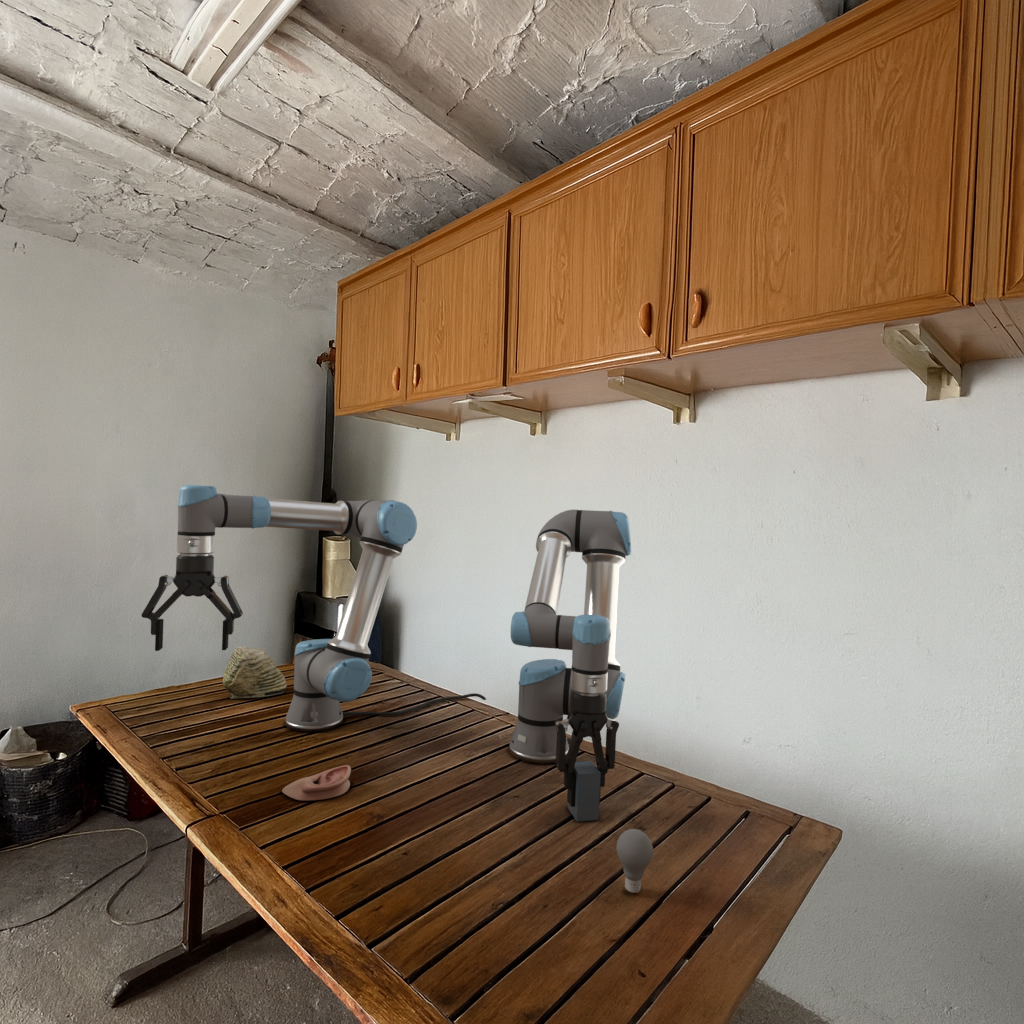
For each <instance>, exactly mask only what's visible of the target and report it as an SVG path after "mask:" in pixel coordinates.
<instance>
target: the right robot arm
mask: <svg viewBox="0 0 1024 1024" xmlns="http://www.w3.org/2000/svg"><path fill="white" fill-rule="evenodd" d="M535 549H536V552H537V555H536V558H535V563H534V567H533V571H532V576H531V580H530V585H529V589H528V593H527V597H526V602H525V605H524V611H523V610H522V611H515V612H514V613H513V614H512V616H511V623H510V640H511V643H512V644H513V645H516V646H522V647H528V648H542V649H555V650H556V649H557V650H564V651H571V667H567V664H566V662H565V661H564V660H562V659H556V658H545V659H544V658H543V659H536V660H531V661H529V662H527V663H525V664H524V665H522V666H521V668H520V671H519V680H518V705H517V707H518V708H517V722H516V724H515V726H514V730H513V733H512V734H511V735H512V736H511V738H510V740H509V745H508V746H509V750H508V751H509V753H510V755H511V756H512V757H514V758H516V759H518V760H520V761H524V762H526V763H530V764H531V763H532V764H541V765H544V764H545V765H547V764H555V767H556V769H557V770H558V771H559V772H560V773H563V787H564V788H565V789H566V790H567V793H566V796H567V798H566V802H567V804H568V803H569V804H570V806H571V807H575V789H576V774H575V773H574V772H573V769H574V766H575V762H577V758H578V755H579V751H580V748H581V744H582V743H583V741H584V738H588V737H590V738H591V741H592V749H593V753H594V759H595V763H596V764H595V765H596V768H597V769H598V770H599V771H600V772H601V776H600V792H601V788H604V787H605V785H606V775H607V774H608V771H609V770H614V769H615V766H616V747H617V746H616V744H617V732H618V730H619V727H620V723H619V722H618V721H617V720H616V718H617V717H619V714H620V711H621V704H622V699H623V693H624V687H625V681H626V673H625V672H623V671H621V663H619V661H618V660H617V659H616V644H617V643H616V640H617V624H618V623H617V619H618V599H619V582H620V581H619V579H620V568H621V566H623V564H625V562H626V557H628V556H631V555H632V543H631V528H630V520H629V517H628V515H627V514H626V513H625V512H621V511H613V510H590V509H589V510H588V509H587V510H586V509H568V510H563V511H562V512H559V513H558V514H556V515H554V516H553V517H552V518H550V519H549V520H547V522H545V524H544V525H542V528H541V529H540V530H539V533H538V534H537V538H536V541H535ZM572 552H573V553H581V559H582V561H583V562H584V563H585V565H586V577H585V592H584V607H583V614H579V615H565V614H564V615H562V614H558V608H559V602H560V598H561V591H562V585H563V579H564V573H565V567H566V562H567V558H568V557H569V556H570V555H571V553H572ZM564 716H566V718H565V719H564ZM569 726H570V728H571V729H572V731H571V737H567V732H568V727H569ZM604 726H605V728H606V731H605V749H604V748H603V743H602V735H601V731H602V730H603V728H604ZM603 749H604V750H603ZM604 751H605V753H604ZM600 805H601V796H600V797H599V806H600Z"/></svg>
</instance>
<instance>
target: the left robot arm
mask: <svg viewBox="0 0 1024 1024" xmlns="http://www.w3.org/2000/svg"><path fill="white" fill-rule="evenodd" d="M216 528H218V529H219V528H220V529H223V528H226V529H227V528H228V529H229V528H231V529H232V528H233V529H234V528H235V529H261V528H279V529H296V530H312V531H313V530H314V531H333V532H334V534H336V535H340V536H342V535H343V536H350V537H355V538H359V545H360V547H361V549H362V551H361V556H360V558H359V561H358V565H357V568H356V571H355V574H354V578H353V581H352V583H351V586H350V590H349V593H348V597H347V599H346V603H345V606H344V608H343V612H342V615H341V618H340V621H339V624H338V628H337V631H336V634H335V636H333V638H319V639H308V640H303V641H300V642H297V644H296V645H295V650H294V655H293V656H294V672H293V695H292V696H293V697H292V699H291V702H290V704H289V708H288V711H287V713H286V715H285V726H286V728H287V729H289V730H291V731H294V732H295V731H296V732H301V733H316V732H325V731H329V730H332V729H335V728H337V727H339V726H340V725H342V723H343V722H344V717H347V716H379V717H381V716H382V717H385V716H386V717H387V716H389V717H390V716H399V715H403V714H407V713H410V712H414V711H417V710H420V709H422V708H425V707H428V706H430V705H431V704H436V703H439V702H444V701H451V700H460V699H461V700H462V699H466V698H471V697H473V698H474V697H476V698H480V699H481V700H483V701H486V700H487V698H486V697H485V696H484V695H483V694H481V693H476V692H475V693H467V694H463V695H454V696H446V697H440V698H436V699H435V698H434V699H431V700H429V701H426V702H424V703H422V704H418V705H416V706H413V707H410V708H407V709H402V710H398V711H387V712H385V711H384V712H383V711H343V709H342V706H341V702H343V703H348V702H349V703H350V702H353V701H355V700H357V699H358V698H359V697H361V696H362V695H364V694H365V693H366V691H367V690H368V688H369V687H370V685H371V682H372V679H373V678H372V677H373V673H372V672H373V671H372V669H371V666H370V664H369V660H370V657H371V654H372V652H371V649H370V648H369V645H368V644H369V641H370V638H371V635H372V630H373V627H374V625H375V621H376V617H377V615H378V612H379V608H380V606H381V602H382V598H383V595H384V592H385V588H386V586H387V582H388V579H389V576H390V572H391V569H392V566H393V562H394V560H395V559H396V558H397V557H400V556H401V555H402V552H403V549H404V546H405V545H407V544H408V543H409V542H411V541H412V540H413V539H414V537H415V536H416V533H417V529H418V520H417V516H416V515H415V513H414V510H413V508H411V507H410V506H409V505H408V504H406V503H404V502H401V501H398V500H397V501H396V500H393V499H389V500H381V499H364V500H338V501H337V502H335V503H333V502H320V501H319V502H318V501H307V500H297V499H296V500H295V499H282V498H273V497H271V498H270V497H265V496H257V495H240V494H239V495H238V494H226V493H218V492H217V487H216V486H214V485H199V484H198V485H197V484H183V485H182V486H181V487H180V488H179V493H178V501H177V535H176V553H178V555H177V556H176V558H175V575H174V576H170V575H168V574H163V575H161V576H160V577H159V578H158V585H157V587H156V588H155V590H154V592H153V594H152V596H151V597H150V599H149V601H148V603H147V604H146V606H145V608H144V609H143V611H142V612H141V617H142V618H143V619H147V620H150V634H151V636H155V637H154V638H155V639H154V652H159V651H161V650H162V649H163V647H164V646H163V645H164V644H163V643H164V618H161V617H162V616H163V614H165V613H166V611H168V610H169V608H171V606H172V605H174V603H175V602H176V601H177V600H178V599H179V598H180V597H181V596H185V597H197V598H198V597H203V596H205V598H207V600H209V601H210V602H211V604H212V605H213V606H214V607H215V608H216V609H217V610H218V611H219V612H220V614H221V615H222V616H223V617H224V618H225V619H223V620H222V635H221V637H222V640H221V651H226V650H227V649H228V648H229V635H232V634H233V633H234V627H235V619H240V618H241V617H242V616H243V615H244V612H243V610H242V608H241V605H240V603H239V602H238V599H237V598H236V596H235V593H234V592H233V589H232V587H231V586H230V577H229V575H223V576H217V577H216V576H215V573H214V569H215V556H214V555H213V554H214V553H215V545H216V544H215V543H216V541H215V540H216ZM172 583H173V584H174V585H175V587H176V588H177V589H175V591H174V592H173V593H172V594H171V595H170V597H168V599H166V600H165V601H164V602H163V604H161V605H160V606H159V607H158V609H156V611H155V612H154V610H155V608H156V606H157V605H158V604H159V601H160V599H161V598H162V596H163V594H164V593H165V591H166V590H167V587H168V586H170V585H171V584H172ZM215 584H217V586H218V587H221V590H222V592H223V594H224V596H225V598H226V601H227V602H228V604H229V606H230V608H231V610H230V608H229V607H228V606H227V605H226V603H225V602H224V601H223V600H222V599H221V598H220V596H219V595H217V592H216V591H215V590H214V588H212V587H213V586H214V585H215Z"/></svg>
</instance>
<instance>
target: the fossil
mask: <svg viewBox="0 0 1024 1024" xmlns="http://www.w3.org/2000/svg"><path fill="white" fill-rule="evenodd" d="M222 676H223V677H222V685H223V687H224V688H225V690H226V691H228V693H229V698H230V699H250V698H264V697H271V696H275V695H281V694H284V693H285V691H286V689H287V687H288V686H287V680H286V678H285V676H284V674H283V673H282V672H281V669H279V668H278V667H277V665H276V663H275V662H274V660H273V659H272V658H271V657H270V656H269V655H268V654H267V653H266V652H265V650H264V649H263V648H260V647H258V648H251V647H247V646H246V647H245V646H238V647H237V648H236V649H235V650H233V651H232V653H231V656H230V657H229V659H228V660H227V663H226V666H225V668H224V671H223V675H222Z"/></svg>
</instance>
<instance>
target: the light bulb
mask: <svg viewBox="0 0 1024 1024" xmlns="http://www.w3.org/2000/svg"><path fill="white" fill-rule="evenodd" d="M615 849H616V854H617V857H618V859H619V861H620V863H621V865H622V867H623V873H624V874H623V875H624V876H625V878H624V888H625V890H627V891H628V892H630V893H634V894H635V893H639V892H640V891H641V889H642V887H641V886H642V879H643V877H644V875H645V871H646V868H647V867H648V866H649V864H650V863H651V861H652V859H653V855H654V847H653V843H652V841H651V838H649V836H648V835H647V834H646V833H645V832H643V831H642V830H641V829H636V828H629V829H627V830H625V831H623V832H622V833H621V834H620V835H619V837H618V839H617V841H616V847H615Z"/></svg>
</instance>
